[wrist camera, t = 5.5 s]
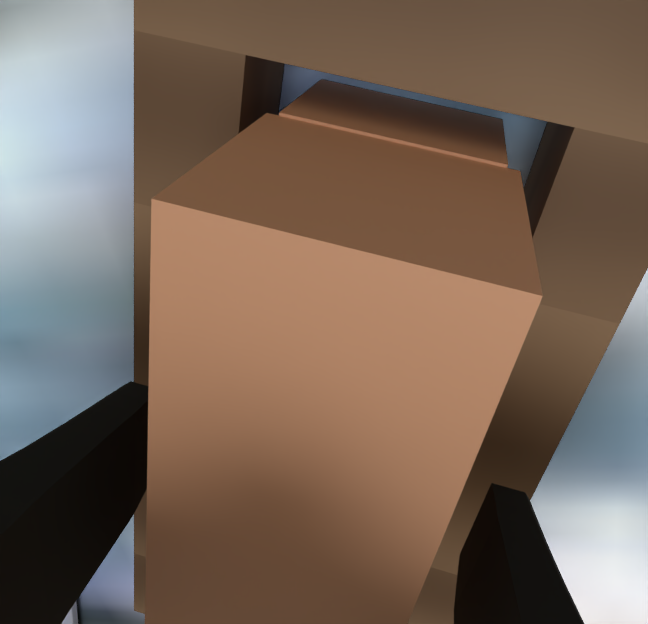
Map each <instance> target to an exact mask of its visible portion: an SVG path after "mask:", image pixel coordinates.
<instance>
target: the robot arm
mask: <svg viewBox="0 0 648 624" xmlns="http://www.w3.org/2000/svg"><path fill="white" fill-rule="evenodd" d="M148 387H149V386H146V385H142V384H139V383H135V382H129V383H127V384H125V385H124V386H122V387H120V388H119V389H117V390H116V391H114V392H113V393H111V394H109V395H108V396H106V397H105V398H103V399H102V400H100V401H99V402H97V403H96V404H94V405H92V406H91V407H89V408H88V409H86V410H85V411H83V412H82V413H80V414H78V415H77V416H75V417H74V418H72V419H71V420H69V421H67V422H66V423H64V424H63V425H61V426H59V427H58V428H56V429H54V430H53V431H51V432H49V433H48V434H46V435H44V436H43V437H41V438H40V439H38V440H36V441H35V442H33V443H31V444H30V445H28V446H26V447H25V448H23V449H21V450H19V451H18V452H16V453H14V454H12V455H10V456H8V457H7V458H5V459H3V460H1V461H0V624H78V616H77V604H76V600H77V599H78V597H79V596H80V594H81V593H82V591H83V590H84V588H85V587H86V585H87V584H88V582H89V581H90V579H91V578H92V576H93V575H94V573H95V572H96V570H97V569H98V567H99V566H100V564H101V563H102V561H103V560H104V558H105V557H106V555H107V554H108V552H109V551H110V549H111V548H112V546H113V545H114V543H115V542H116V540H117V539H118V537H119V536H120V534H121V533H122V531H123V530H124V528H125V527H126V525H127V524H128V522H129V521H130V519H131V517H132V516H133V514H134V513H135V511H136V509H137V507H138V505H139V503H140V501H141V499H142V497H143V495H144V494H145V492H146V490H147V451H148ZM454 624H584V622H583V620H582V618H581V616H580V614H579V612H578V610H577V608H576V606H575V604H574V601H573V599H572V597H571V595H570V593H569V591H568V589H567V587H566V585H565V583H564V580H563V578H562V576H561V574H560V572H559V569H558V567H557V565H556V563H555V560H554V558H553V556H552V553H551V551H550V549H549V546H548V544H547V542H546V539H545V537H544V535H543V532H542V530H541V527H540V525H539V522H538V520H537V517H536V515H535V512H534V510H533V507H532V505H531V502H530V500H529V498H528V496H527V494H526V493H525V492H522V491H519V490H515V489H512V488H508V487H504V486H501V485H497V484H494V483H491V485H490V487H489V490H488V492H487V494H486V496H485V499H484V501H483V503H482V505H481V508H480V510H479V512H478V514H477V517H476V519H475V521H474V523H473V526H472V528H471V530H470V532H469V535H468V537H467V539H466V541H465V543H464V546H463V548H462V550H461V552H460V556H459V565H458V573H457V582H456V592H455V602H454Z"/></svg>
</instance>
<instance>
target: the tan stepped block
mask: <svg viewBox="0 0 648 624" xmlns="http://www.w3.org/2000/svg"><path fill="white" fill-rule="evenodd" d="M507 167H508V160H507V152H506V144H505V136H504V128H503V121H502V119H498V118H494V117H489V116H485V115H480V114H476V113H471V112H467V111H462V110H458V109H453V108H449V107H444V106H440V105H435V104H431V103H426V102H422V101H417V100H413V99H408V98H404V97H399V96H395V95H390V94H386V93H381V92H377V91H372V90H368V89H363V88H359V87H354V86H349V85H345V84H340V83H336V82H331V81H327V80H322V79H321V80H320V81H319V82H317V83H316V84H315V85H314V86H312V87H311V88H310V89H308V90H307V91H306V92H305V93H303V94H302V95H301V96H300V97H298V98H297V99H296V100H294V101H293V102H292V103H291V104H289V105H288V106H287V107H286V108H284V109H283V110H282V111H281V112H279V116H278V115H274V114H269V113H266V114H265V115H263V116H262V117H261V118H259V119H258V120H257V121H255V122H254V123H252V124H251V125H250V126H248V127H247V128H246V129H244V130H243V131H242V132H240V133H239V134H238V135H236V136H235V137H234V138H232V139H231V140H230V141H228V142H227V143H226V144H224V145H223V146H222V147H220V148H219V149H218V150H216V151H215V152H214V153H212V154H211V155H209V156H208V157H207V158H205V159H204V160H203V161H201V162H200V163H199V164H197V165H196V166H195V167H193V168H192V169H191V170H189V171H188V172H187V173H185V174H184V175H183V176H181V177H180V178H179V179H177V180H176V181H175V182H173V183H172V184H171V185H169V186H168V187H167V188H165V189H164V190H162V191H161V192H160V193H158V194H157V195H156V196H154V197H153V198H152V199H151V259H150V323H149V387H148V451H147V515H146V579H145V624H407V623H408V621H409V618H410V616H411V613H412V611H413V609H414V606H415V604H416V601H417V599H418V596H419V594H420V592H421V589H422V587H423V584H424V582H425V580H426V577H427V575H428V572H429V570H430V567H431V565H432V563H433V560H434V558H435V555H436V553H437V551H438V548H439V546H440V543H441V541H442V538H443V536H444V534H445V531H446V529H447V526H448V524H449V522H450V519H451V517H452V514H453V512H454V509H455V507H456V505H457V502H458V500H459V497H460V495H461V493H462V490H463V488H464V485H465V483H466V480H467V478H468V476H469V473H470V471H471V468H472V466H473V464H474V461H475V459H476V456H477V454H478V452H479V449H480V447H481V444H482V442H483V439H484V437H485V435H486V432H487V430H488V427H489V425H490V423H491V420H492V418H493V415H494V413H495V410H496V408H497V406H498V403H499V401H500V398H501V396H502V394H503V391H504V389H505V386H506V384H507V381H508V379H509V377H510V374H511V372H512V369H513V367H514V365H515V362H516V360H517V357H518V355H519V352H520V350H521V348H522V345H523V343H524V340H525V338H526V336H527V333H528V331H529V328H530V326H531V323H532V321H533V319H534V316H535V314H536V311H537V309H538V307H539V304H540V302H541V299H542V297H543V294H542V289H541V283H540V278H539V272H538V267H537V261H536V256H535V250H534V244H533V239H532V233H531V228H530V222H529V217H528V211H527V206H526V200H525V194H524V189H523V183H522V178H521V172H520V171H518V170H514V169H509V168H507Z"/></svg>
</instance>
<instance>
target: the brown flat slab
mask: <svg viewBox="0 0 648 624" xmlns="http://www.w3.org/2000/svg"><path fill="white" fill-rule="evenodd" d="M284 63H285V64H289V65H294V66H298V67H303V68H307V69H312V70H317V71H321V72H326V73H330V74H335V75H339V76H344V77H348V78H353V79H357V80H362V81H366V82H371V83H376V84H380V85H385V86H389V87H394V88H398V89H403V90H407V91H412V92H416V93H421V94H425V95H430V96H435V97H439V98H444V99H448V100H453V101H457V102H462V103H466V104H471V105H475V106H480V107H484V108H489V109H493V110H498V111H503V112H507V113H512V114H516V115H521V116H525V117H530V118H534V119H539V120H543V121H548V123H547V125H546V128H545V131H544V134H543V137H542V139H541V142H540V145H539V148H538V151H537V153H536V156H535V159H534V162H533V165H532V167H531V170H530V173H529V176H528V179H527V182H526V184H525V187H524V194H525V200H526V206H527V211H528V217H529V222H530V228H531V233H532V239H533V244H534V250H535V256H536V261H537V267H538V272H539V278H540V283H541V289H542V294H543V297H542V299H541V302H540V304H539V307H538V309H537V311H536V314H535V316H534V319H533V321H532V323H531V326H530V328H529V331H528V333H527V336H526V338H525V340H524V343H523V345H522V348H521V350H520V352H519V355H518V357H517V360H516V362H515V365H514V367H513V369H512V372H511V374H510V377H509V379H508V381H507V384H506V386H505V389H504V391H503V394H502V396H501V398H500V401H499V403H498V406H497V408H496V410H495V413H494V415H493V418H492V420H491V423H490V425H489V427H488V430H487V432H486V435H485V437H484V439H483V442H482V444H481V447H480V449H479V452H478V454H477V456H476V459H475V461H474V464H473V466H472V468H471V471H470V473H469V476H468V478H467V480H466V483H465V485H464V488H463V490H462V493H461V495H460V497H459V500H458V502H457V505H456V507H455V509H454V512H453V514H452V517H451V519H450V522H449V524H448V526H447V529H446V531H445V534H444V536H443V538H442V541H441V543H440V546H439V548H438V551H437V553H436V555H435V558H434V560H433V563H432V565H431V567H430V570H429V572H428V575H427V577H426V580H425V582H424V584H423V587H422V589H421V592H420V594H419V596H418V599H417V601H416V604H415V606H414V609H413V611H412V613H411V616H410V618H409V621H408V623H407V624H454V602H455V592H456V582H457V573H458V565H459V556H460V552H461V550H462V548H463V546H464V543H465V541H466V539H467V537H468V535H469V532H470V530H471V528H472V526H473V523H474V521H475V519H476V517H477V514H478V512H479V510H480V508H481V505H482V503H483V501H484V499H485V496H486V494H487V492H488V490H489V487H490V485H491V483H494V484H497V485H501V486H504V487H508V488H512V489H515V490H519V491H522V492H525V493H526V494H527V496H528V498H529V500H531V498H532V496H533V494H534V492H535V490H536V488H537V486H538V484H539V482H540V480H541V478H542V476H543V474H544V472H545V470H546V468H547V466H548V464H549V462H550V460H551V458H552V456H553V454H554V452H555V450H556V448H557V446H558V444H559V442H560V440H561V438H562V436H563V434H564V432H565V430H566V428H567V427H568V425H569V423H570V421H571V419H572V417H573V415H574V413H575V411H576V409H577V407H578V405H579V403H580V401H581V399H582V397H583V395H584V393H585V391H586V389H587V387H588V385H589V383H590V381H591V379H592V377H593V375H594V373H595V371H596V369H597V367H598V365H599V363H600V361H601V359H602V357H603V355H604V353H605V351H606V349H607V347H608V345H609V343H610V341H611V340H612V338H613V336H614V334H615V332H616V330H617V328H618V326H619V324H620V322H621V320H622V318H623V316H624V314H625V312H626V310H627V308H628V306H629V304H630V302H631V300H632V298H633V296H634V294H635V292H636V290H637V288H638V286H639V284H640V282H641V280H642V278H643V276H644V274H645V272H646V270H647V268H648V0H134V382H135V383H139V384H142V385H146V386H149V323H150V259H151V199H152V198H153V197H154V196H156V195H157V194H158V193H160V192H161V191H162V190H164V189H165V188H167V187H168V186H169V185H171V184H172V183H173V182H175V181H176V180H177V179H179V178H180V177H181V176H183V175H184V174H185V173H187V172H188V171H189V170H191V169H192V168H193V167H195V166H196V165H197V164H199V163H200V162H201V161H203V160H204V159H205V158H207V157H208V156H209V155H211V154H212V153H214V152H215V151H216V150H218V149H219V148H220V147H222V146H223V145H224V144H226V143H227V142H228V141H230V140H231V139H232V138H234V137H235V136H236V135H238V134H239V133H240V132H242V131H243V130H244V129H246V128H247V127H248V126H250V125H251V124H252V123H254V122H255V121H257V120H258V119H259V118H261V117H262V116H263V115H265V114H266V113H269V114H274V115H278V110H279V102H280V94H281V86H282V78H283V69H284ZM146 515H147V490H146V492H145V494H144V495H143V497H142V499H141V501H140V503H139V505H138V507H137V509H136V511H135V513H134V611H137V612H140V613H143V614H145V579H146Z"/></svg>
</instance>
